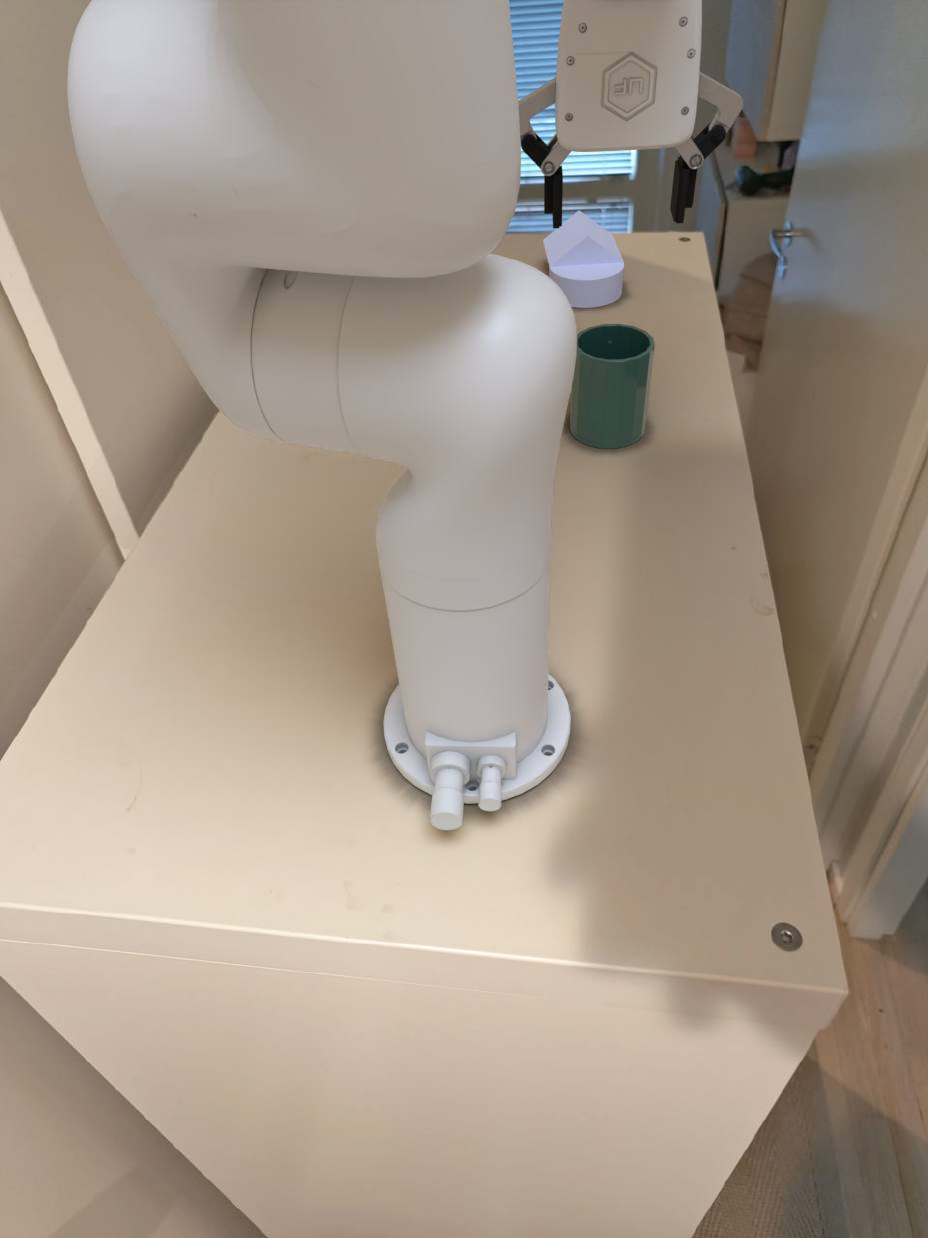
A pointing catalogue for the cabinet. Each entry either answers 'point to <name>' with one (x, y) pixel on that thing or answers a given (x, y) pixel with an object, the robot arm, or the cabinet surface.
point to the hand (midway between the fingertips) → (616, 219)
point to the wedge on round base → (585, 262)
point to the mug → (611, 385)
